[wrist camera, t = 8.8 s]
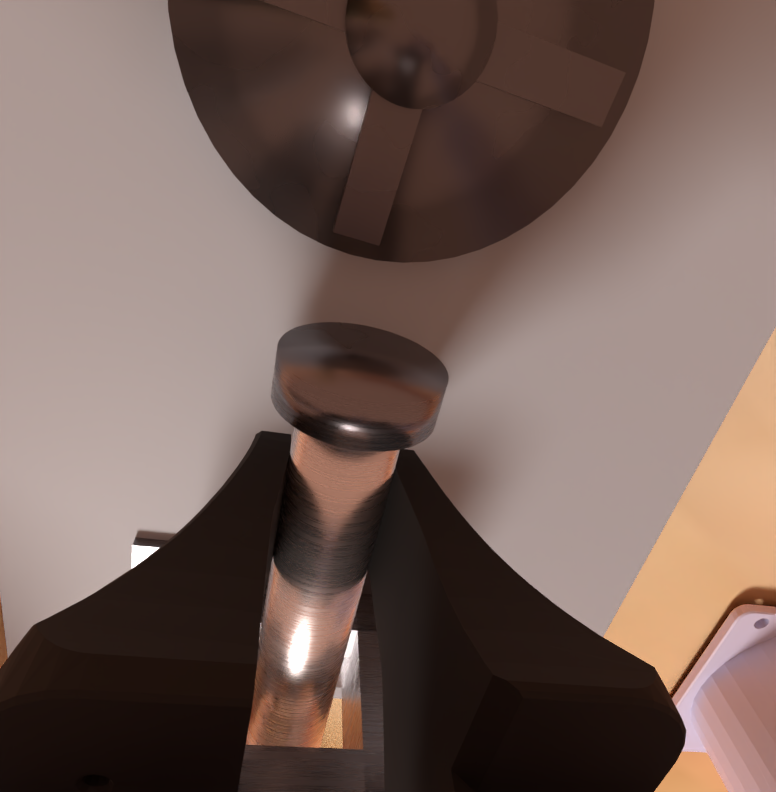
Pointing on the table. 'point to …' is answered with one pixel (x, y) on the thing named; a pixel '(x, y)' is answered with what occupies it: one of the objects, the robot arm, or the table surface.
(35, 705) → the robot arm
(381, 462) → the headed rod
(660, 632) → the table surface
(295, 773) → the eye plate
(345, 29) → the handwheel
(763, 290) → the board
